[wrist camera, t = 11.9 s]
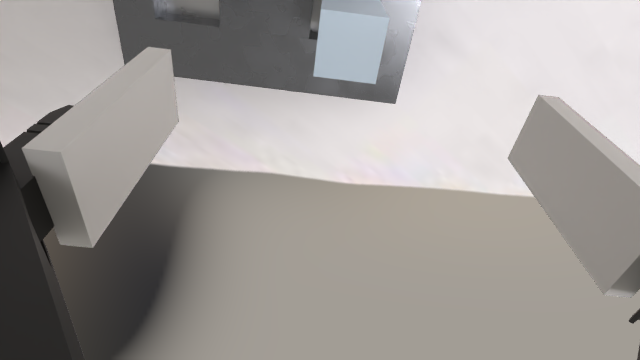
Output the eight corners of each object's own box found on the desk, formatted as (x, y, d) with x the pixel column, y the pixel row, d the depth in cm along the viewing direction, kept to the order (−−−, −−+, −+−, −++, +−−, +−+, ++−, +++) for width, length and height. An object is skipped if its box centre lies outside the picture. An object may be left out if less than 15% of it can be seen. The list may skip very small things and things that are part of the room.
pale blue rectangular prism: (324, -25, 29) (320, 8, 20) (370, -18, 30) (389, 18, 20) (318, 32, 32) (311, 87, 22) (360, 38, 32) (372, 95, 22)
